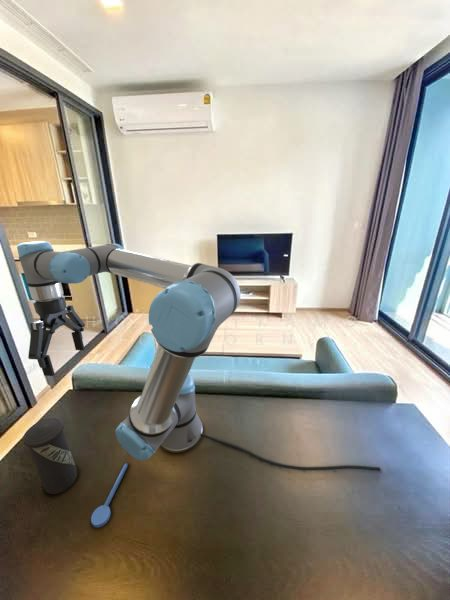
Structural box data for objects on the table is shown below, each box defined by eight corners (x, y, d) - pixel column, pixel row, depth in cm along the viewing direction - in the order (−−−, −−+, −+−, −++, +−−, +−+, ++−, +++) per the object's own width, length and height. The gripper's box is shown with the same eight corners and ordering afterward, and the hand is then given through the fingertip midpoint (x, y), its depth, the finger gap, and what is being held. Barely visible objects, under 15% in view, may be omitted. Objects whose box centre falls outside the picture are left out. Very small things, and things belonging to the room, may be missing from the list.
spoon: (120, 464, 76) (119, 461, 76) (134, 466, 76) (133, 463, 75) (87, 526, 61) (86, 523, 61) (104, 528, 61) (103, 525, 60)
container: (62, 499, 67) (42, 445, 60) (34, 492, 69) (12, 438, 62) (85, 468, 75) (70, 417, 68) (60, 462, 77) (42, 412, 70)
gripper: (66, 284, 82) (80, 340, 90) (-7, 315, 59) (20, 387, 67) (88, 284, 82) (100, 341, 89) (22, 316, 58) (46, 389, 66)
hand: (66, 361), depth 78 cm, fingers open, 13 cm apart
